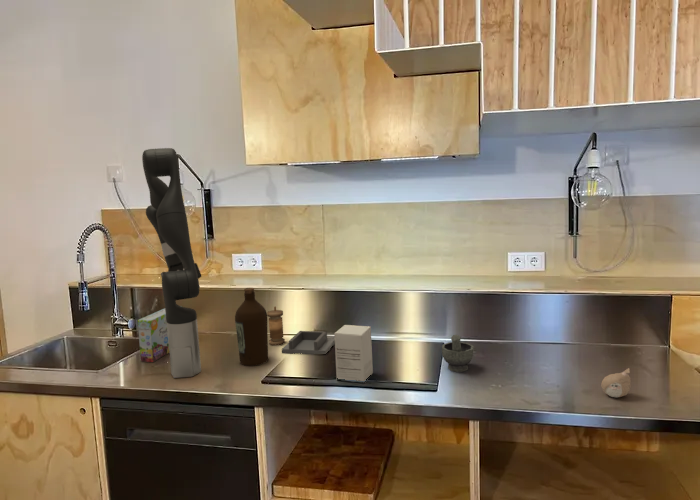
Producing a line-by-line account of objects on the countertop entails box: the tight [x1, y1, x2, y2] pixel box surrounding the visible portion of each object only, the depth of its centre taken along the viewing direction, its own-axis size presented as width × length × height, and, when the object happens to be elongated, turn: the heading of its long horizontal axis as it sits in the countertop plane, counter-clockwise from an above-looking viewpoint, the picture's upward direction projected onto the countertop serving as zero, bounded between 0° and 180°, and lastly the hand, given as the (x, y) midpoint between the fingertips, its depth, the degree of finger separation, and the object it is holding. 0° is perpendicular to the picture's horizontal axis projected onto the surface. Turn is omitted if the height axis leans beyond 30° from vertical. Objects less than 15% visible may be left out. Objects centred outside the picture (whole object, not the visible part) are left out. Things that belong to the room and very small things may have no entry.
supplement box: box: [333, 324, 374, 381], centre depth 154 cm, size 9×9×15 cm
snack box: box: [137, 305, 184, 363], centre depth 185 cm, size 21×6×15 cm, turn 168°
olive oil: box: [234, 287, 269, 367], centre depth 171 cm, size 11×11×25 cm
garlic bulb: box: [600, 367, 632, 398], centre depth 134 cm, size 7×6×8 cm
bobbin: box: [266, 306, 286, 347], centre depth 190 cm, size 6×6×14 cm
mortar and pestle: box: [441, 334, 475, 373], centre depth 157 cm, size 11×9×12 cm
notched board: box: [281, 330, 335, 355], centre depth 184 cm, size 16×14×4 cm
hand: (187, 293), depth 196 cm, fingers open, 8 cm apart
